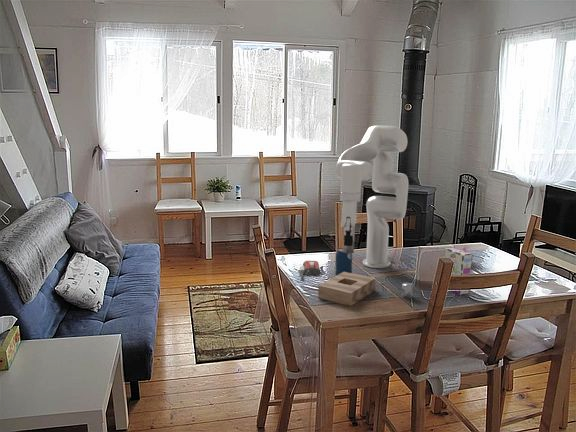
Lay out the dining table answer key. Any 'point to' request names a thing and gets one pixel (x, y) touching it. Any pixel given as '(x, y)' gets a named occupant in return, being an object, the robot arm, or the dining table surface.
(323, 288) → the hole block
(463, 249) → the lily
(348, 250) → the tall pin
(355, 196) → the robot arm
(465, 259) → the candy bar box
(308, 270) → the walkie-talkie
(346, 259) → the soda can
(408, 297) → the short pin
